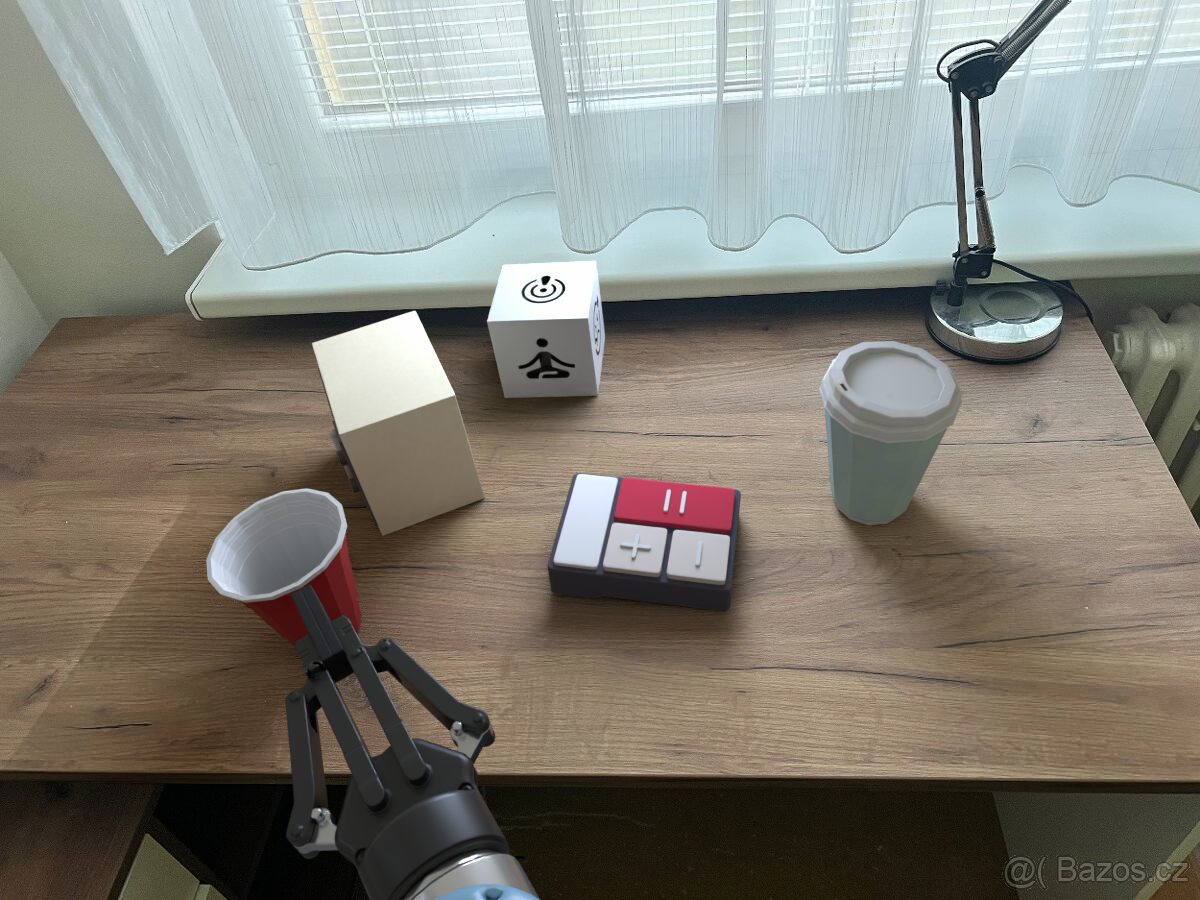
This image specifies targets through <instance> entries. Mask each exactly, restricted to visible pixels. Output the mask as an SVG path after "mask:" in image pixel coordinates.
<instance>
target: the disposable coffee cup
mask: <svg viewBox="0 0 1200 900" xmlns="http://www.w3.org/2000/svg"><path fill="white" fill-rule="evenodd" d="M818 389H819V393H820V397H821V400H822V403H823V406H824V417H825V419H824V421H825V431H826V444H827V447H826V448H827V459H828V470H829V486H830V492H831V495H832V498H833V502H834V504H835V506H836V508H837V509H838V510H839V511H840V512H841V513H842V514H844V516H845V517H846V518H847V519H848V520H851V521H854V522H856V523H860V524H863V525H865V526H877V525H878V526H879V525H887V524H889V523H891V522H892V521H894V520H896V519H898V518H899V517H901V516H902V514H904V513H905V512H907V510H908V507H909V505H910V503H911V502H912V500H913V497H914V495H915V493H916V491H917V490H918V488H919V485H920V484H921V482H922V480H923V478H924V476H925V474H926V472H927V469H929V466H930V464H931V461H932V459H933V458H934V456H935V454H936V452H937V449H938V448H939V446H940V444H941V442H942V440H943V438H944V436H945V435H946V432H947V430H948V429H949V428H950V427H952V426H953V425H954V423H955V421H956V419H957V415H958V413H959V410H960V407H961V405H962V402H963V400H962V396H963V391H962V389H961V387H960V385H959V383H958V380H957V378H956V376H955V374H954V372H953V370H952V368H950V367H949V366H948V365H947V364H945V362H942V361H941V360H940V359H939V358H936V357H935V356H934V355H932V354H931V353H930V352H928V351H927V350H925V349H924V348H921V347H916V346H913V345H911V344H910V345H909V344H907V343H902V342H899V341H894V340H881V341H878V340H877V341H862V342H860V343H858V344H855V345H852V346H850V347H848V348H846V349H844V350H841V351H839V352H838V353H837V356H836V357H835V358H834V359H832V361H831V363H830V365H829V367H828V369H827V371H826V373H825V374H824V376H823V378H822V380H821V384H820V387H819V388H818Z"/></svg>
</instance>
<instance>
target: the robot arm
mask: <svg viewBox="0 0 1200 900" xmlns="http://www.w3.org/2000/svg"><path fill="white" fill-rule="evenodd" d="M291 598H292V600H293V602H294V604H295V606H296V608H297V610H298V612H299V614H300V616H301V618H302V621H303V623H304V625H305V627H306V629H307V631H308V633H309V634H308V635H307V636H305V637H303V638H301V639H299V640H297V641H296V648H295V651H296V653H297V654H298V657H299V659H300V661H301V663H302V665H303V668H304V674H305V676H306V681H305V683H304V684H303V685H302V686H301V687H300V688H294V689H292V690H290V691H289V692H287V694H286V695H285V699H284V703H285V715H286V724H287V737H288V748H289V759H290V768H291V769H290V770H291V771H290V772H291V780H292V781H291V782H292V791H293V805H292V810H291V813H290V817H289V820H288V825H287V827H286V828H287V829H286V833H285V836H286V839H287V841H288V842H289V843H290V844H291V845H292V847H294V848H295V850H296V851H297V852H298V853H299V854H300V855H301V856H302V857H303V858H304V859H307V860H311V859H314V858H316V857H317V856H318V855H319V854H320V853H321V852H322V851H338V852H339V853H340V854H341V856H342V857H343V858H344V859H345V861H347V862H349V863H351V864H353V865H354V866H355V868H356V870H357V872H358V873H357V874H358V875H359V877H360V879H361V882H362V885H363V887H364V889H365V892H366V895H367V896H368V899H369V900H541V898H540V897H539V895H538V893H537V891H536V890H535V887H534V886H533V885H532V883H531V880H530V879H529V877H528V875H527V874H526V872H525V871H524V869H523V867H522V865H521V863H520V861H519V860H518V859H517V858H516V857H515V856H513V855H511V854H510V845H509V841H507V839H506V837H505V834H504V833H503V831H502V830H501V827H500V826H499V825H498V823H497V821H496V819H495V817H494V816H493V814H492V812H491V811H490V808H489V806H488V805H487V803H486V801H485V800H484V798H483V796H482V794H481V792H480V790H479V786H478V782H479V781H478V779H479V777H478V771H477V768H476V766H475V764H476V761H477V759H478V758H479V756H480V754H481V752H482V750H483V749H484V748H487V747H490V746H492V745H493V744H494V743H495V741H496V733H495V729H494V728H493V725H492V723H491V719H490V717H489V715H488V712H487V711H485V710H484V709H481V708H478V707H475V706H473V705H470V704H467V703H464V702H462V701H459V699H457V697H455V696H454V695H453V694H452V693H451V692H450V691H449V690H447V689H446V688H445V686H443V685H442V684H441V683H440V682H439V681H438V680H437V679H436V678H435V677H434V676H432V675H431V674H430V673H429V672H428V671H427V670H426V669H425V668H424V667H422V666H421V665H420V664H419V662H417V661H416V660H415V659H414V658H413V657H412V656H411V655H410V654H409V653H407V652H406V650H404V649H403V648H402V647H401V646H400V645H399V644H398V643H397V642H396V641H395V640H393V638H390V637H384V638H382V639H380V640H379V641H378V642H377V643H376V644H375V645H365V644H363V643H362V641H361V639H360V636H359V635H358V634H357V633H356V631H355V629H354V628H353V626H352V624H351V622H350V620H349V618H347V617H345V616H344V615H342V616H341V617H339V618H337V619H335V620H333V621H330V619H329V617H328V615H327V613H326V611H325V609H324V607H323V605H322V604H321V602H320V600H319V598H318V597H317V595H316V593H315V591H314V590H313V588H312V586H311V584H310V585H308V586H306V587H304V588H303V589H301V590H299V591H297V592H295V593H293V594H291ZM385 672H387V673H388V674H390V675H391V677H392V678H394V680H396V681H397V682H398V683H399V684H400V685H401V686H402V687H403V688H404V689H405V690H406V691H407V692H408V693H409V694H410V695H411V696H412V697H413V698H415V699H416V701H417V702H419V704H421V705H422V706H423V708H425V709H426V710H427V711H428V712H429V713H430V714H431V716H433V717H434V718H435V719H436V720H437V721H438V722H439V723H440V724H441V725H442V726H443V727H445V728H446V730H447V731H449V735H450V738H451V741H452V742H453V744H454V746H456V747H457V749H456V750H455V749H452V748H449V747H448V746H444V745H441V744H438V743H435V742H433V741H430V740H429V741H428V740H426V739H423V738H419V737H412V736H411V733H410V732H409V730H408V728H407V727H406V724H405V723H404V720H403V719H402V717H401V715H400V713H399V711H398V709H397V707H396V706H395V704H394V703H395V702H394V701H393V700H392V697H391V695H390V694H389V692H388V690H387V688H386V686H385V685H384V683H383V681H382V678H381V677H380V675H379V674H381V673H385ZM353 674H354V675H355V676H356V679H357V681H358V683H359V685H360V687H361V689H362V690H363V691H362V692H363V693H364V695H365V697H366V699H367V701H368V703H369V705H370V706H371V708H372V711H373V713H374V715H375V717H376V719H377V720H378V723H379V725H380V727H381V729H382V731H383V733H384V735H385V738H386V740H387V741H388V743H389V746H388V747H387V748H386V749H385V750H384V751H383V752H382V753H380V754H377V755H374V756H372V754H371V752H370V750H369V748H368V746H367V744H366V742H365V740H364V738H363V736H362V733H361V732H360V730H359V727H358V726H357V724H356V722H355V720H354V718H353V715H352V713H351V711H350V709H349V707H348V705H347V703H346V701H345V699H344V697H343V695H342V693H341V691H340V689H339V687H338V686H337V684H336V683H339V682H340V681H342V680H344V679H346V678H347V677H350V676H351V675H353ZM320 709H322V711H323V713H324V715H325V717H326V719H327V722H328V724H329V726H330V728H331V730H332V732H333V734H334V736H335V739H336V741H337V744H338V745H339V748H340V750H341V753H342V756H343V758H344V760H345V763H346V765H347V767H348V770H349V772H350V773H351V776H350V778H349V780H348V783H347V787H346V790H345V794H344V798H343V802H342V805H341V810H340V813H339V817H338V821H337V823H336V818H335V817H334V816H333V814H332V813H331V812H330V810H329V799H328V793H327V785H326V784H327V783H326V776H325V768H324V760H323V751H322V743H321V735H320V727H319V726H320V725H319V718H318V711H319V710H320Z"/></svg>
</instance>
